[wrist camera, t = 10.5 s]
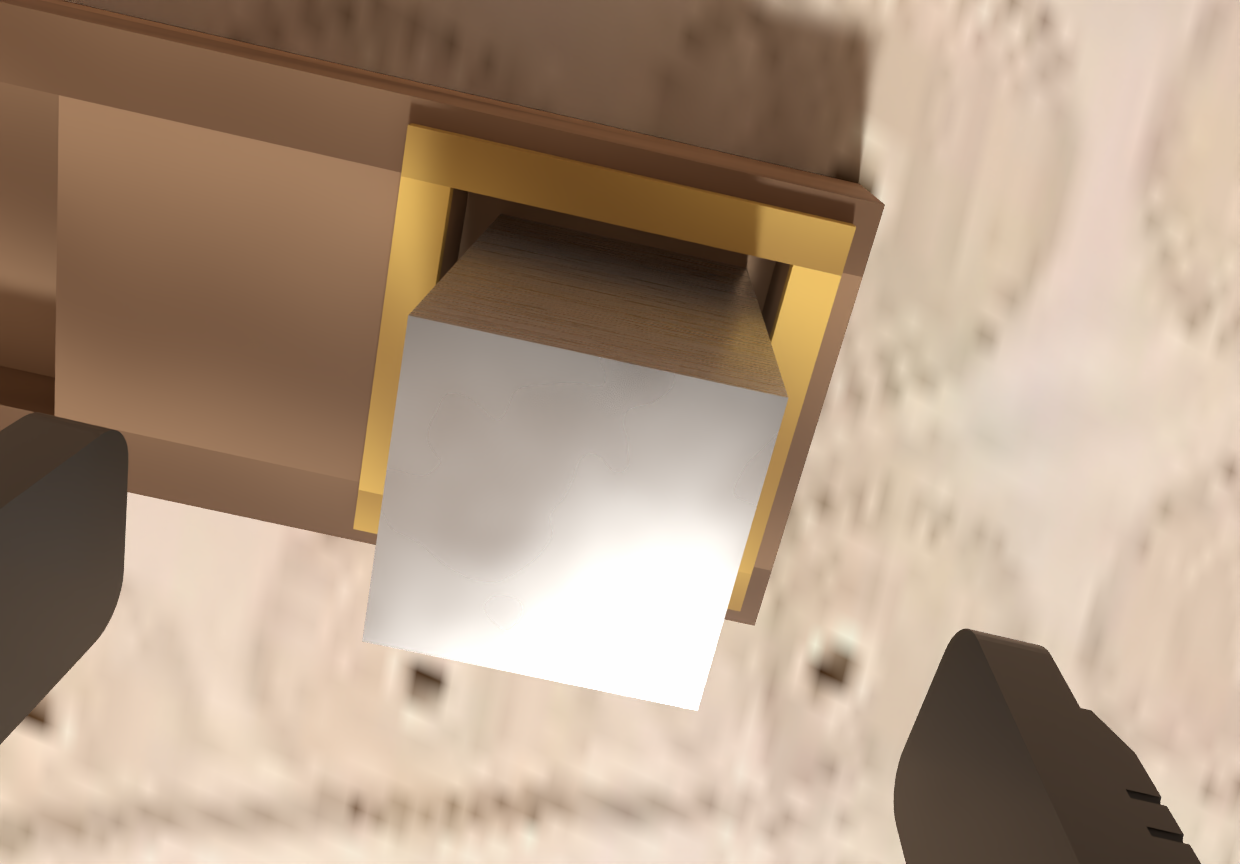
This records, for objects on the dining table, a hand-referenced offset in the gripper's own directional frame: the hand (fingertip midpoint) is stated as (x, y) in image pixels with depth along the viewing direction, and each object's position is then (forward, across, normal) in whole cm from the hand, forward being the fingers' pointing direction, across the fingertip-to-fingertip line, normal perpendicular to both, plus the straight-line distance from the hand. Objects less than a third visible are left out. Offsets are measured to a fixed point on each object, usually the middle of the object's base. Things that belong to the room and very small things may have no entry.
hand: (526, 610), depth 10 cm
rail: (+11, +6, +1) cm, 12 cm away
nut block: (+10, 0, +1) cm, 10 cm away
